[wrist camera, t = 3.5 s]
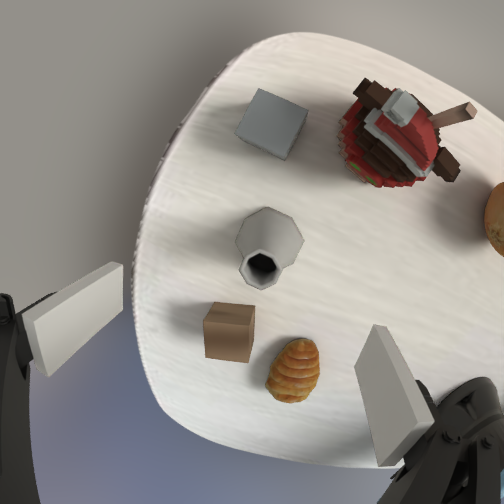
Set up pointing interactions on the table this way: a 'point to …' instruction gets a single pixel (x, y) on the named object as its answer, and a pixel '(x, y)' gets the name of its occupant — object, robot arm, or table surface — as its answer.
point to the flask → (267, 246)
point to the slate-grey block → (271, 123)
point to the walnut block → (229, 332)
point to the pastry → (294, 371)
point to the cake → (397, 137)
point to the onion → (495, 218)
